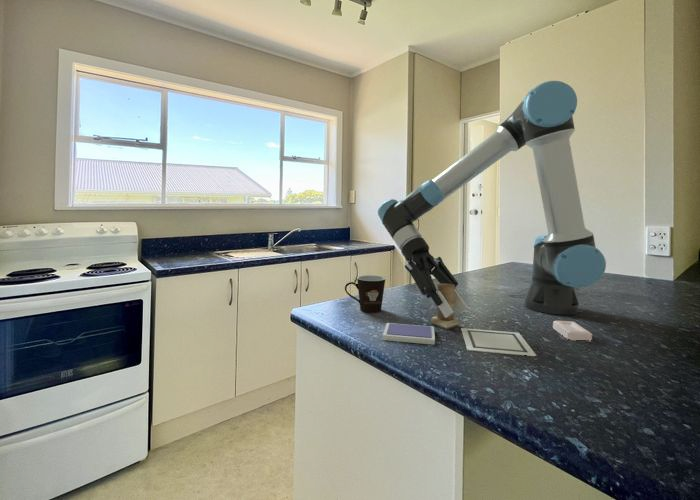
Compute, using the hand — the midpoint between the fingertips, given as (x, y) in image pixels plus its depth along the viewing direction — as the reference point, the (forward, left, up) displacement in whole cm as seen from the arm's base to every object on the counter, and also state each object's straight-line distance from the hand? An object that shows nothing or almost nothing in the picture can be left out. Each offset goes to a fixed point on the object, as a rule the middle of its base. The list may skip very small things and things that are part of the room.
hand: (457, 312), depth 88 cm
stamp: (+3, -2, -4) cm, 6 cm away
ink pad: (+12, +8, -4) cm, 15 cm away
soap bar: (-28, -3, -5) cm, 29 cm away
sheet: (-8, +7, -4) cm, 11 cm away
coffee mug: (+26, -11, -5) cm, 29 cm away
